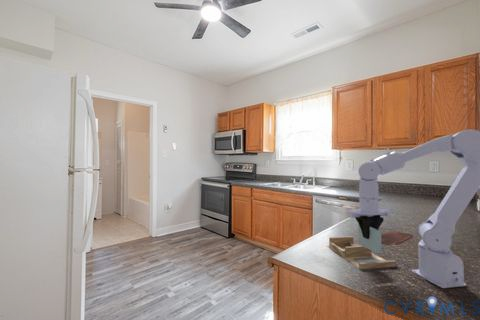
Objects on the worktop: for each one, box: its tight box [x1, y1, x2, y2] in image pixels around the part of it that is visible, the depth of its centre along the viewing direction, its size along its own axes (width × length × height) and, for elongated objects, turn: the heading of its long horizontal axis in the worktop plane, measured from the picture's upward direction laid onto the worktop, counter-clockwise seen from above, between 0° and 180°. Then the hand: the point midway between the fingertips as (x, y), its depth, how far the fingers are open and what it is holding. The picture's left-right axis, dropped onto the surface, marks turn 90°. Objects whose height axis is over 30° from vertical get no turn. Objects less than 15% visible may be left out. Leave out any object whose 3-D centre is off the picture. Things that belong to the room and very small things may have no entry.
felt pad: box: [354, 257, 380, 263], centre depth 74 cm, size 6×8×1 cm
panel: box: [358, 225, 382, 254], centre depth 74 cm, size 8×2×7 cm, turn 9°
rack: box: [326, 235, 398, 270], centre depth 80 cm, size 20×13×4 cm, turn 9°
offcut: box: [348, 241, 361, 246], centre depth 87 cm, size 4×3×2 cm
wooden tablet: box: [381, 231, 414, 246], centre depth 99 cm, size 26×2×10 cm
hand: (369, 237), depth 74 cm, fingers closed on panel, 2 cm apart
